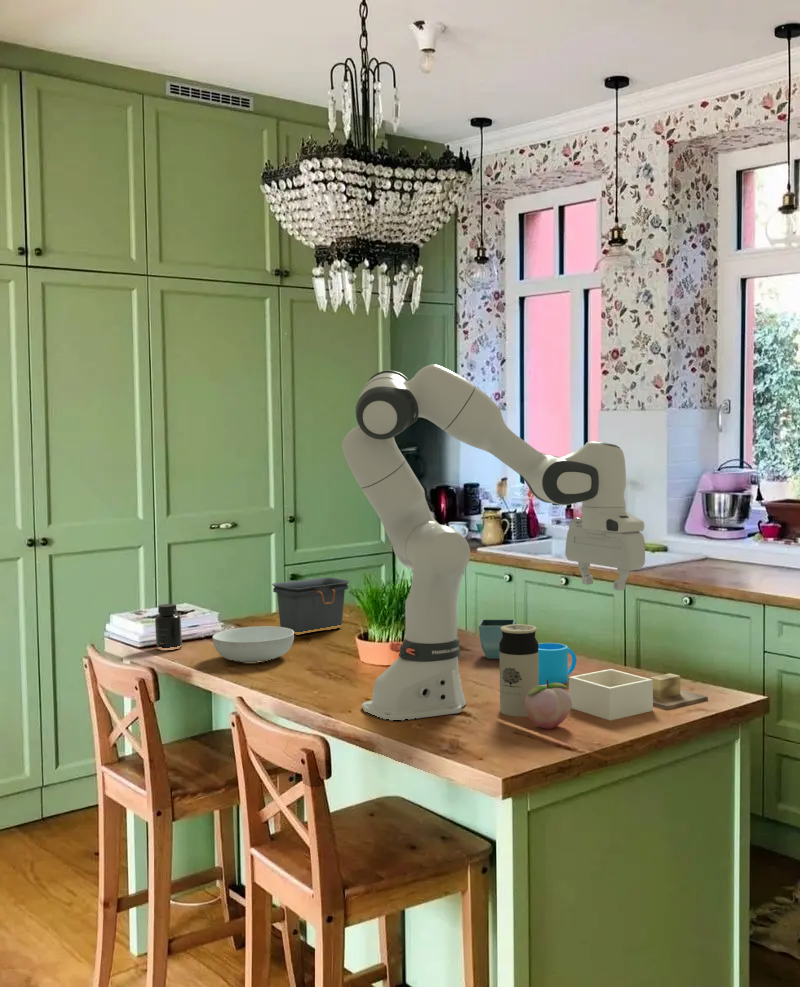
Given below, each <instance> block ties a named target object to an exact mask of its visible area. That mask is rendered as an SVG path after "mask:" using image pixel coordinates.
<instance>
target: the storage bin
mask: <svg viewBox="0 0 800 987" xmlns="http://www.w3.org/2000/svg"><path fill="white" fill-rule="evenodd" d="M349 583H350V581H349V580H347V579H340V578H336V577H335V578H334V577H319V578H310V579H309V578H308V579H299V580H292V581H291V580H290V581H289V580H288V581H281V582H280V581H279V582H275V583H274V582H273V583H271V585H272V586H273V590H272V592H273V593H275V594H276V596H277V597H276V598H277V605H278V606H277V607H278V614H279V615H278V617H279V627H284V628H289V629H292V630H293V631H294V632H303V631H308V630H314V629H320V628H326V627H331V626H337V625H341V624H342V625H343V617H344V616H343V615H344V602H345V593H346V590H348V589H349V585H348V584H349Z"/></svg>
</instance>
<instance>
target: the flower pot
mask: <svg viewBox="0 0 800 987" xmlns="http://www.w3.org/2000/svg"><path fill="white" fill-rule="evenodd" d="M516 621H517V620H516V619H504V618H503V619H491V618H490V619H488V618H487V619H481V620H480V623H479V625H478V632H479V633H478V634H479V640H480V646H481V648H482V649H481V650H482V651H483V653H484V656H485V657H486V658H487V659H491V660H494V659H495V660H496V659H498V660H500V656H499V643H500V641H501V639H502V637H503V636H502V631H501V630H500V628H501V627H502V626H505V625H513V624H516Z"/></svg>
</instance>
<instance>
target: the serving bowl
mask: <svg viewBox="0 0 800 987" xmlns="http://www.w3.org/2000/svg"><path fill="white" fill-rule="evenodd" d="M294 639H295V635H294V631H293V630H292V629H289V628H284V627H280V626H272V625H271V626H270V625H268V626H267V625H266V626H264V625H263V626H262V625H261V626H260V625H259V626H246V627H245V626H244V627H237V628H231V629H230V628H229V629H227V630H221V631H218V632H217V633H215V634H212V642H213V646H214V649H215V650H216V652H217V653H218V654H219V655H220V656H221V657H222V658H225V659H226V660H229V661H232V660H233V661H232V662H238V661H240V662H257V661H266V660H270V661H272V660H274V659H277V658H279V657H281V656H283V655H285V654H286V653H287V652H288V651H289V650H290V649H291V647H292V646H293V643H294ZM271 659H272V660H271ZM240 662H239V663H240Z"/></svg>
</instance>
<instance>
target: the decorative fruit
mask: <svg viewBox="0 0 800 987" xmlns="http://www.w3.org/2000/svg"><path fill="white" fill-rule="evenodd" d="M564 688H566V689H568V690H569V686H567V685H565V683H563V684H561V683H551V684H548V680H547V685H539V686H536V687H534V688H533V689H531V690H530V691H529V692H528V694H527V696H526V698H525V709H526V712H527V714H528V716H527V717H528V718H529V719H530V721H531V722H532V723H533V724H534V725H536V726H537V727H539V728H541V729H545V730H551V729H554V728H556V727H558V726H559V725H561V724H562V723H563V722H564V721H565V719H566V718H568V716H569V715H570V712H571V710H572V708H571V707H572V701H571V698H570V696H569V692H567V690H566V689H564Z"/></svg>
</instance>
